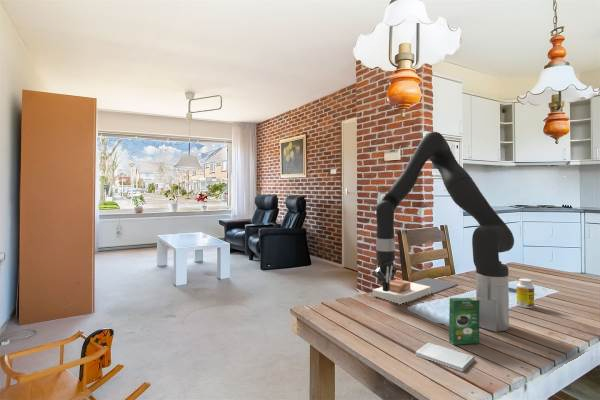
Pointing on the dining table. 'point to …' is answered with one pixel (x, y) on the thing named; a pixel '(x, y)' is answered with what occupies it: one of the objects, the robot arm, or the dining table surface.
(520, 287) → the supplement bottle
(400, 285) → the terracotta block
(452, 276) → the dining table surface
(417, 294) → the block
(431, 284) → the mat
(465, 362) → the hard drive
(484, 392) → the dining table surface
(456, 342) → the coffee box
